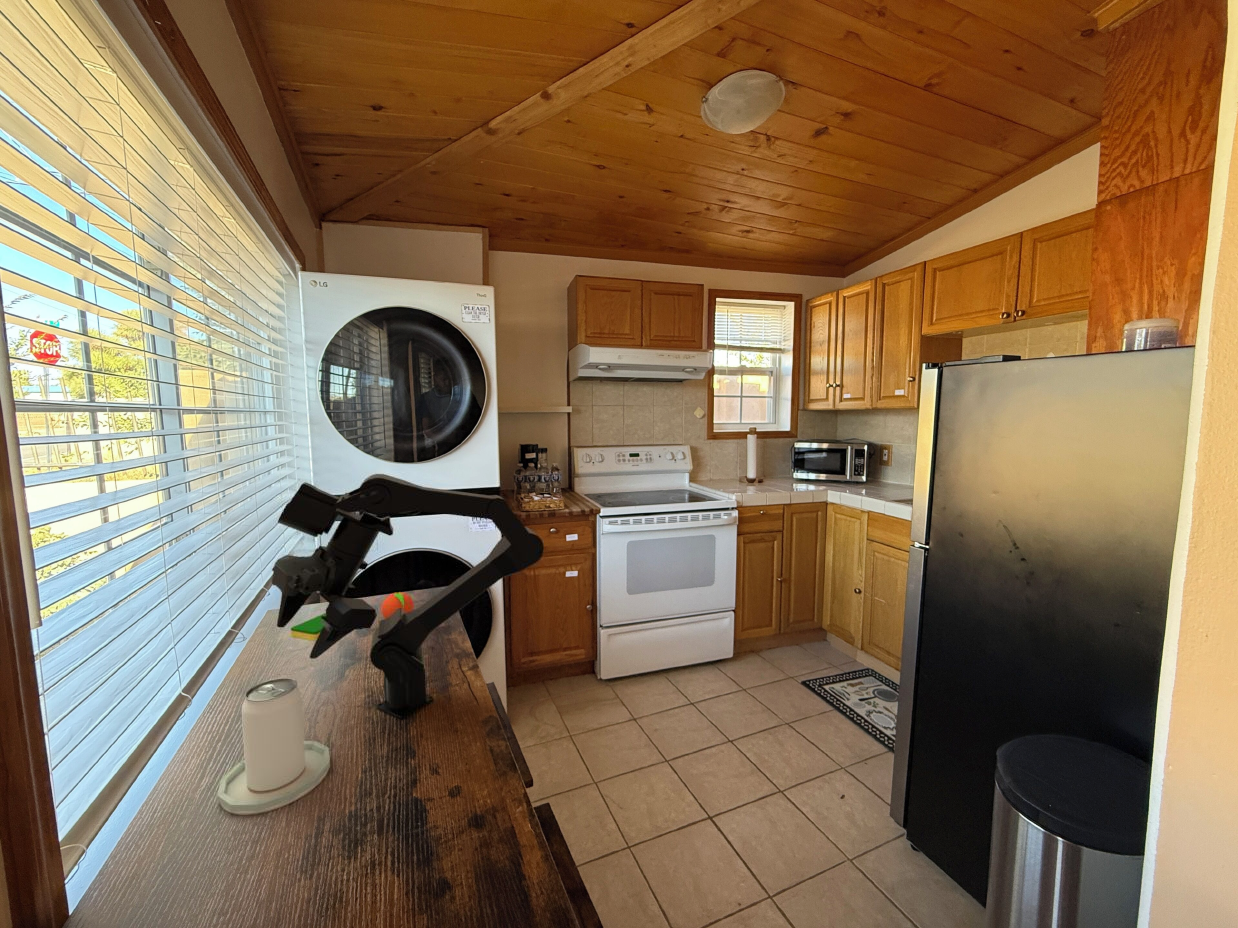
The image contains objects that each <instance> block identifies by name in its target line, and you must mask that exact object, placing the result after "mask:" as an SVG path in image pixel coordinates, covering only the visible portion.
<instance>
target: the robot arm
mask: <svg viewBox="0 0 1238 928" xmlns="http://www.w3.org/2000/svg"><path fill="white" fill-rule="evenodd" d="M356 512H363V513H362V515H360V514H358V513H356ZM412 512H423V513H432V514H441V515H449V516H450V515H451V516H459V517H467V518H475V519H487V520H491V521H492V523H493V524H494V525H495V527H496V528H497V530H498V531H499V532H500V533H501V535H502V536H503V537H501V539H499V541H497V543H496V544H495V546H494V547H493V548H492V549H491V551H490V553H489V554H488V556H486V557H485V558H484V559H483V560H481V561H480V562H479V563H477V564H476V565H475V566H473V567H472V568H471V569H469V570H468V571H467V572H465V573H464V574H462V575H460V577H459V578H457V579H456V580H454V581H453V582H452V583H450V584H448V586H446V587H445V588H443V589H442V590H441V591H440V592H438V593H437V594H435V595H434V596H432V597H431V598H430V599H428V601H426V602H424V603H423V604H422V605H421V606H419V607H418V608H416V609H413V611H410V612H407V613H404V611H403V610H402V608H401V607H399V608H398V609H397V610H396V611H395V612H394V613H393V614H392V615H391V616H389V617H388V618H386V619H385V618H384V619H380V620H379V621H378V627H377V628H376V629H375V630H374V631H373V634H372V637H371V644H370V654H369V658H370V662H371V664H372V665H373V667H375V668H376V669H377V670H380V671H382V673H383V694H384V695H383V696H384V700H382V701H381V702H380V703H378V704H377V705H376V709H377V710H380V711H382V712H385V713H387V714H389V715H392V716H394V717H396V718H399V719H406V718H408V717H409V716H410V715H412V714H414V713H416V712H417V711H419V710H420V709H422V708H423V707H425V706H427V705H428V704H430V703H432V702H433V701H434V700H435V696H433V695H431V694H428V693H427V681H426V679H427V678H426V668H425V660H424V649H423V644H424V643H425V641H426V639H427V638H428V637H429V636H430V634H431V633H432V632H433V631H435V629H436V628H439V626H441V625H443V624H444V623H445V622H446V621H447V620H449V619H450V618H451V617H452V616H454V615H455V614H456V613H458V612H459V611H461V610H462V609H463V608H465V607H466V606H467V605H469V604H470V603H471V602H472V601H474V600H475V599H477V598H478V597H479V596H480V595H482V594H483V593H484V592H486V591H487V590H489V588H490V587H492V586H493V585H495V583H497V582H499V581H500V580H501V579H503V578H506V577H509V576H511V575H514V574H515V575H516V574H518V573H521V572H523V571H525V570H527V569H528V568H530V567H532V566H534V565H536V564H537V563H538V562H539V561H540V560H541V559H542V557H543V555H544V554H543V553H544V550H545V547H544V542H543V540H542V538H541V537H540V536H539V535H537V533H535V532H534V531H533V530H532V529H530V528H529V527H527V526H524V524H523V522H521V520H520V519H519V517H517V515H516V514H515V513H514V511H513V510H512V509H511V507H510V504H509V503H508V501H507V500H505V499H504V498H503V497H502V496H500V495H497V494H493V495H489V494H487V495H486V494H479V493H471V492H466V491H464V492H463V491H459V490H458V491H456V490H451V489H442V488H441V489H440V488H433V487H426V486H422V485H419V484H415V483H412V482H411V481H408V480H404V479H401V478H398V477H395V476H391V475H389V474H384V473H375V474H371V475H368V477H366V478H365V479H364V480H363V481H362V482H361V484H360V486H359V487H357V488H356V489H354V490H352V491H349V492H345V493H343V494H342V495H340V497H339V496H337V495H334V494H332V493H329V492H327V491H324V490H322V489H320V488H318V487H317V486H315V485H313V484H311V483H308V482H303V483H302V484H301V485H300V486H299V488H298V490H297V491H296V493H294V495H293V497H292V498H291V499H290V501H289V502H288V503H287V504H286V505H285V507H284V508H283V510H282V512H281V514H280V515H279V517H278V519H277V523H278V524H280V525H283V526H286V527H289V528H290V529H292V530H296V531H299V532H301V533H304V534H306V535H309V536H312V537H314V538H318V536H319V535H320V536H323V534H326V535H328V534H329V533H330V531H331V529H332V528H333V526H334V524H335V522H336V520H337V519H338V517H339V516H341V517H342V518H341V520H340V521H339V523H338V524H337V527H336V529H335V530H334V533H333V534H332V536H331V538H330V539H329V542H328V543H327V544H326V546H323V545H319V546H318V547H317V548H315V550H314V551H313V554H312V555H309V556H297V555H289V554H285V555H283V556H282V557H280V558H278V559H277V560H276V562H275V563H274V566H273V568H271V571H272V572H273V574H272V578H271V585H272V586H275V587H276V588H278V589H279V590H280V592H281V597H280V604H279V611H278V617H277V622H276V623H277V624H276V627H277V628H285V627H286V626H287V625H288V623H290V621H291V620H293V618H294V617H295V615H296V614H297V613H298V611H300V610H301V608H302V607H303V606H304V604H305V603H306V602H307V600H308V599H309V598H310V597H311V596H312V594H313V593H316V594H318V595H319V596H321V598H322V599H323V600H325V601H326V602H327V603H328V605H327V607H326V609H325V613H326V616H321V620H322V623H323V628H322V630H321V632H320V634H319V636H318V638H317V640H316V641H315V643H314V644H313V647H312V649H311V651H310V654H309V659H311V660H312V659H317V658H319V657H320V656H321V655H322V654H324V653H326V651H328V650H329V649H331V648H332V647H333V646H334V645H336V643H338V642H339V641H340V640H341V639H343V638H345V637H346V636H347V635H349V634H351V633H352V632H353V631H355V630H363V629H371V628H372V626H373V624H374V622H375V620H376V619H377V617H378V614H377V611H376V609H375V608H374V607H373V606H372V605H370V604H369V603H367V602H366V601H365V600H364V599H363V598H351V597H346V596H345V594H353V593H354V591H355V590H356V586H354V585H353V584H352V582H353V581H354V579H355V577H356V575H357V573H358V572H359V570H364V571H365V570H366V569H367V568H368V566H369V563H368V562H366V561H365V559H366V557H367V555H368V553H369V552H370V550H371V548H372V547H373V544H374V543H375V540H376V539H377V538H378V535H379V533H382V534H385V535H387V536H393V534H394V527H393V526H392V523H391V516H389V515H396V514H397V515H398V514H406V513H412ZM377 515H387V516H384V517H381V518H380V517H377Z"/></svg>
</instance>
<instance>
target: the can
mask: <svg viewBox="0 0 1238 928" xmlns="http://www.w3.org/2000/svg"><path fill="white" fill-rule="evenodd" d="M241 725H242V739H243V741H242V742H243V755H244V760H245V771H246V783H247V786H248V787H249V788H250V789H252V790H253V791H256V792H268V791H273V790H276V789H279V788H282V787H284V786H286V785H288V784H289V783H291V782H293V781H294V780H295V779H296V778H297V777H298V776H299V775H300V774H301V773H302V771H303V770H304V768H305V743H304V741H305V731H304V730H305V726H304V712H303V695H302V691H301V689H300V688H299V686H298V681H297V679H295V678H292V677H279V678H273V679H272V678H271V679H268V680H265V681H263V682H259V683H258V684H255V685H254V686H252V687H250V688H248V690H247V691H246V692H245V694H244V701H243V703H242V706H241Z"/></svg>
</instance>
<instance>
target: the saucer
mask: <svg viewBox="0 0 1238 928" xmlns="http://www.w3.org/2000/svg"><path fill="white" fill-rule="evenodd" d="M304 743H305V768H304V770H303V771H302V773H301V774H300V775H299V776H298V777H297V778H296V779H295V780H294V781H293V782H291V783H289V784H288V785H286V786H284V787H282V788H279V789H276V790H273V791H268V792H256V791H253V790H252V789H250V788H249V787H248V786H247V783H246V771H245V759H243V760H240V761H239V762H238V763H237V764H235V766H233V767H232V769H231V770H230V771H229V772H227V773H226V774H225V775H224V776H223V777H221V780H220V783H219V788H218V792H217V795H216V797H217V802H218V803H219V804H220V806H221V808H222V809H223V810H224V811H225V812H227V813H230V814H233V815H240V816H247V815H248V816H249V815H250V816H251V815H256V814H264V813H267V812H271V811H274V810H277V809H279V808H282V807H284V806H287V805H289V804H292V803H293V802H295V801H298V800H300V799H301V798H303V797H304V796H305V795H307V794H309V793H310V792H311V791H313V790H314V789H315V788H316V787H318V785H320V783H321V782H322V781H323V780H324V779H325V777H326V776H327V774H328V773H329V770H330V768H331V762H330V758H331V757H330V748H329V747H328V746H327V745H324V744H322V743H320V742H318V741H316V740H304Z"/></svg>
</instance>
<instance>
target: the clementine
mask: <svg viewBox="0 0 1238 928" xmlns="http://www.w3.org/2000/svg"><path fill="white" fill-rule="evenodd" d="M399 607H401V608H402V610H403V611H404V613H407V612H410V611H413V610H414V607H415V606H414V600H413V599H412V597H411V596H410V595H409V594H407V593H405V592H401V591H399V592H393V593H390V594H389V595H388V596H387V597H385V599H384V600H383V602H382V605H381V609H380V610H381V615H382V616H383V618H384V619H386V618H388V617H389V616H391V615H392V614H393V613H394V612H395V611H396V610H397V609H398V608H399Z"/></svg>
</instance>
